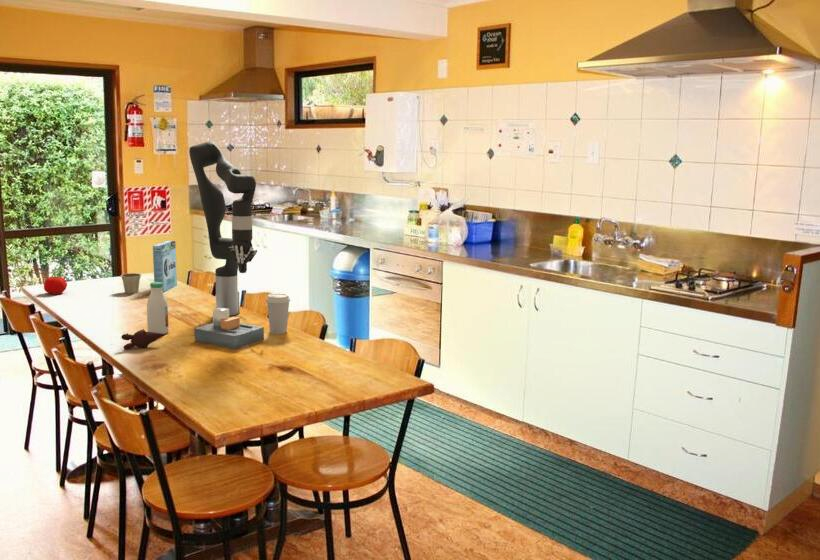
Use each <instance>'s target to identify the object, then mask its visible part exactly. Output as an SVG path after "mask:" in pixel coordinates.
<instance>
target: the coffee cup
mask: <svg viewBox="0 0 820 560" xmlns="http://www.w3.org/2000/svg"><path fill="white" fill-rule="evenodd" d="M265 302H266V305H267V315H268V325H269V326H268V327H269V333H270V334H272V335H285V334H286V333H287V331H288V330H287V329H288V319H289V310H290V309H289V307H290V302H291V298H290V297H289V294H287V293H279V292H277V293H269V294H268V295H267V297H266V298H265Z"/></svg>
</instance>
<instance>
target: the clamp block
mask: <svg viewBox="0 0 820 560" xmlns="http://www.w3.org/2000/svg"><path fill="white" fill-rule="evenodd" d="M240 323H241V322H240V317H238V316H229V318H227V319H223V320H221V328H222V329H228V330H229V329H233V328H236V327H239V326H240Z"/></svg>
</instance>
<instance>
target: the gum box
mask: <svg viewBox="0 0 820 560" xmlns="http://www.w3.org/2000/svg"><path fill="white" fill-rule="evenodd" d="M176 249H177V248H176V241H175V240H166V241H163V242H160V243H157V244H155V245H152V261H153V262H152V264H153V282H162V283H163V288H162V291H163V293H165V292H166V291H168V290H171V289H172V288H174V287H175V286H177V285H178V273H177V253H176V252H177V250H176Z"/></svg>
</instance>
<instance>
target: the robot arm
mask: <svg viewBox="0 0 820 560" xmlns="http://www.w3.org/2000/svg"><path fill="white" fill-rule="evenodd" d="M188 151H189V152H188V153H189V159H190V163H191V166H192V169H193V172H194V176H195V179H196V182H197V186H198V187H197V188H198V191H199V195H200V201H201V206H202V209H203V210H202V211H203V214H204V217H205V218H204V219H205V222H206V227H207V228H206V229H207V233H208V242H209V248H210V253H211V255H212V257H213V258H214V259H216V260H217V259H218V260H225V264H224V265H223V266H219V267H217V268H215V272H214V273H215V307H216V308H228V309H229V317H234V316H237V315H238V314H240V312H241V311H240V291H238V290H239V289H238V285H239V284H238V272H239V274H246V273H247V271H248V270H247V269H248V267H247V265H248V263H251V262H252V260H253V259H254V258H255V256H256V255H257V252H258V250H257V249H254V247H253V243H252V240H253V218H252V217H253V216H252V204H253V199H254V195H255V192H256V188H257V182H256V179H255V177H254V176H253V175H252V174H247V173H246V174H242V173H241V171H240V169H238V168H237V167H236V166H235V165H233V164H232V163H231V162H230V161H229V160H228V158H227V157H226V156H225V154H224V153H223V152H222V150H221V149H220V148H219V147H218V145H216V143H214V142H213V141H205V142H202V143H199V144H196V145H193V146H190V147H189V150H188ZM215 164H216V165H215ZM214 165H215V173H216V175H217V176H218V178H219V179H221V180H222V181H223V182H224V183H225V186H226V187H227V190H228V191H229V192H230V193H232V194H236V195H237V194H242V197H241V198H239V199H235V200H233V202H232V205H231V206H232V209H231V210H232V214H231V215H232V217H231V218H232V219H231V237H230V238H229V237H222V234H221V225H222V222H223V220H224V218H225V215H226V212H227V204H226V199H225V196H224V194H223V191H222V190H221V189H219V187H217V185H215V183H213V181H211V180H210V179H209V177H207V175H206V173H205V169H204V168H207V167H209V166H214Z"/></svg>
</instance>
